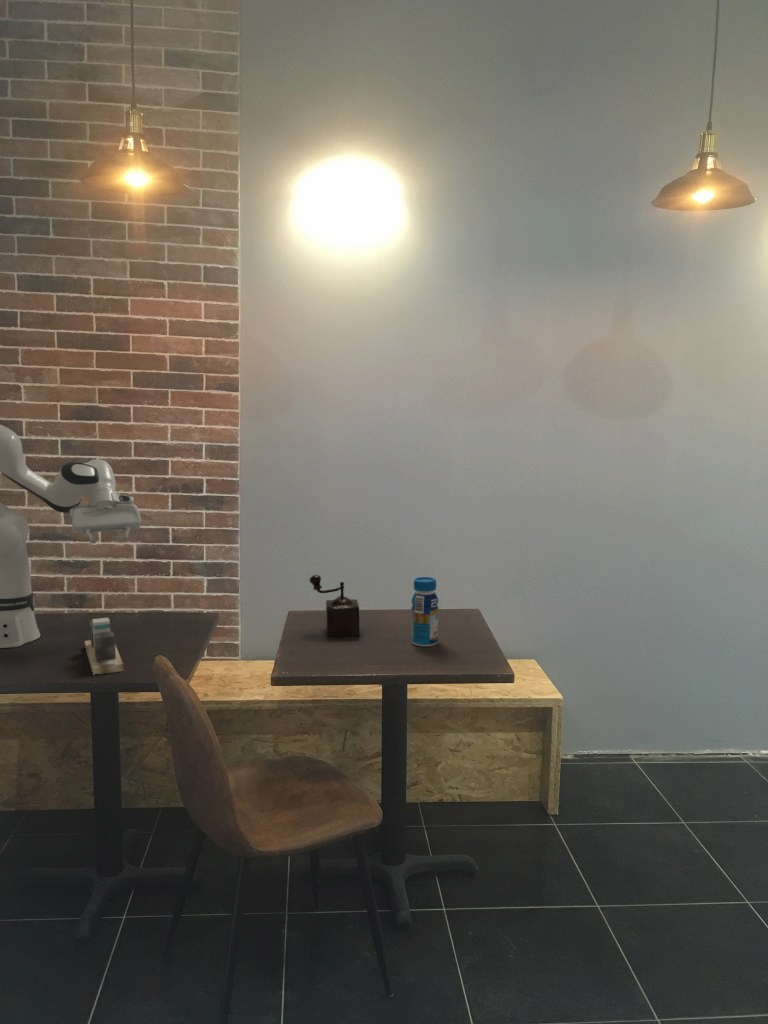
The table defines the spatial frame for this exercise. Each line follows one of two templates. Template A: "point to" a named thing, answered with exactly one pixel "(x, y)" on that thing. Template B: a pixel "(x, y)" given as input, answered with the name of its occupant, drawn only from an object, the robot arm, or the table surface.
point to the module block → (100, 626)
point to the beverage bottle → (424, 612)
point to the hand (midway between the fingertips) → (109, 540)
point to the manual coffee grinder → (339, 612)
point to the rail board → (96, 663)
